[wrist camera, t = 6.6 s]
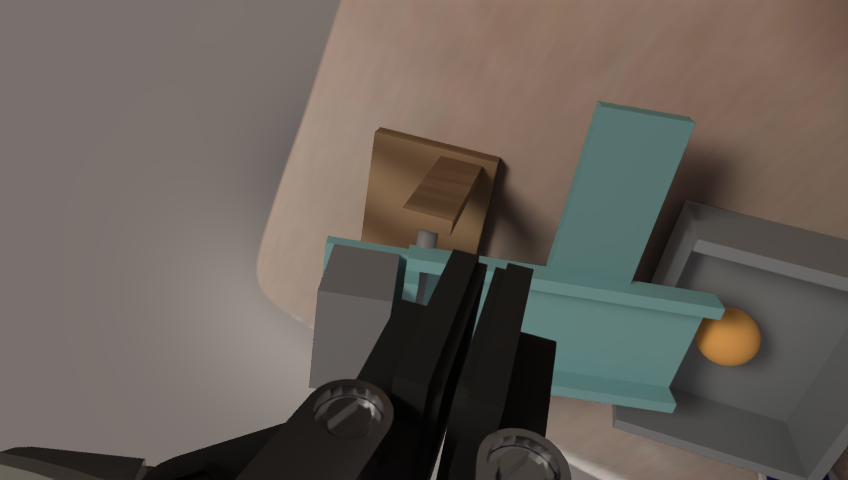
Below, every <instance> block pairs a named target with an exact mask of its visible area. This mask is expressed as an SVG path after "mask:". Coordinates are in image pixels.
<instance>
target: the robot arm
mask: <svg viewBox="0 0 848 480" xmlns="http://www.w3.org/2000/svg"><path fill="white" fill-rule="evenodd" d="M487 267H488V265H487V264H483V263H480V262H479V255H476V254H472V253H468V252H464V251H460V250H457V249H453V251H452V253H451V255H450V257H449V259H448V261H447V264H446V266H445V268H444V270H443V272H442V274H441V276H440V278H439V281H438V283H437V285H436V287H435V289H434V291H433V293H432V295H431V297H430V300H429V302H428V304H427V306H425V305H422V304H418V303H414V302H411V301H407V300H403V299H401V300H400V301H399V302H398V304H397V305H396V307H395V309H394V311H393V313H392V315H391V316H390V318H389V320H388V322H387V324H386V325H385V327H384V329H383V331H382V333H381V335H380V336H379V338H378V340H377V342H376V344H375V345H374V347H373V349H372V351H371V353H370V355H369V356H368V358H367V360H366V362H365V364H364V366H363V367H362V369H361V371H360V373H359V375H358V376H357V378H356V379H340V380H335V381H331V382H328V383H326V384H324V385H322V386H320V387H319V388H317V389H316V390H315V391H314V392H312V393H311V394H310V395H309V397H308V398H307V399H306V400H305V401H304V402H303V404H301V406H300V407H299V408H298V409H297V410H296V411H295V412H294V413H293V415H292V416H291V417H290V418H289V419H288V420H287V421H286V422H285V423H283V424H279V425H276V426H273V427H270V428H267V429H263V430H260V431H257V432H254V433H251V434H247V435H244V436H241V437H238V438H234V439H231V440H228V441H225V442H222V443H219V444H215V445H212V446H209V447H206V448H202V449H199V450H196V451H193V452H190V453H186V454H183V455H180V456H177V457H174V458H172V459H169V460H167V461H165V462H163V463H160V464H159V465H157V466H156V467H153V466H146V462H145V459H143V458H133V457H124V456H115V455H105V454H96V453H87V452H77V451H67V450H59V449H49V448H40V447H15V448H11V449H8V450H5V451H1V452H0V480H430V479H431V476H432V473H433V470H434V467H435V463H436V460H437V457H438V454H439V451H440V448H441V445H442V442H443V439H444V435H445V432H446V435H445V440H444V445H443V450H442V454H441V459H440V465H439V469H438V474H437V478H436V480H571V473H570V469H569V466H568V462H567V460H566V459H565V457H564V456H563V454H562V453H561V451H560V450H559V449H558V448H557V447H556V446H555V445H554V444H553V443H552V442H550V441H549V440H548V439H546V438H545V435H546V427H547V419H548V411H549V403H550V395H551V387H552V379H553V371H554V363H555V355H556V346H557V342H556V341H554V340H550V339H547V338H543V337H539V336H536V335H532V334H528V333H524V332H521V327H522V322H523V318H524V313H525V308H526V304H527V299H528V295H529V290H530V285H531V281H532V276H533V271H534V269H532V268H528V267H524V266H520V265H516V264H512V263H508V264H507V267H506V269H503V268H499V267H496V268H495V271H494V274H493V277H492V280H491V283H490V286H489V289H488V292H487V295H486V298H485V301H484V304H483V307H482V311H481V314H480V317H479V320H478V323H477V326H476V329H475V332H474V327H475V323H476V318H477V313H478V309H479V304H480V300H481V295H482V291H483V286H484V281H485V277H486V272H487ZM473 332H474V335H473ZM472 336H473V338H472ZM446 429H447V431H446Z"/></svg>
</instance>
